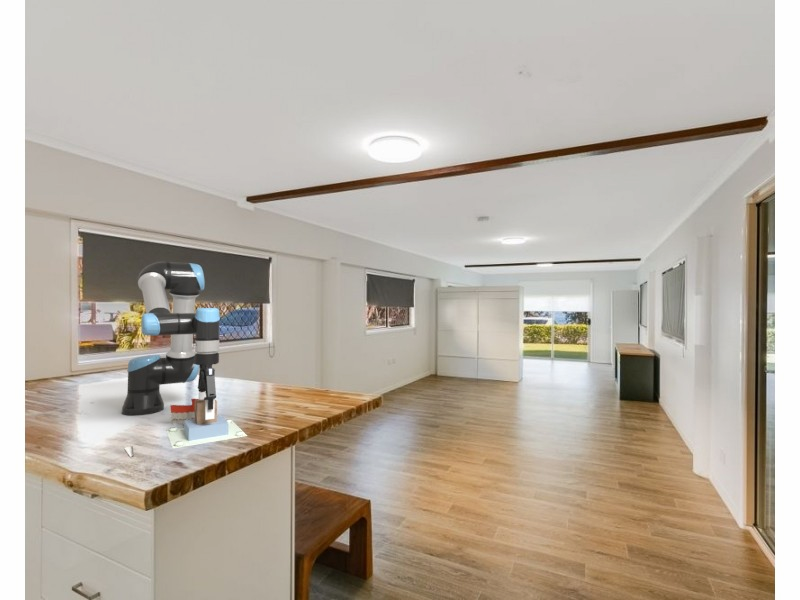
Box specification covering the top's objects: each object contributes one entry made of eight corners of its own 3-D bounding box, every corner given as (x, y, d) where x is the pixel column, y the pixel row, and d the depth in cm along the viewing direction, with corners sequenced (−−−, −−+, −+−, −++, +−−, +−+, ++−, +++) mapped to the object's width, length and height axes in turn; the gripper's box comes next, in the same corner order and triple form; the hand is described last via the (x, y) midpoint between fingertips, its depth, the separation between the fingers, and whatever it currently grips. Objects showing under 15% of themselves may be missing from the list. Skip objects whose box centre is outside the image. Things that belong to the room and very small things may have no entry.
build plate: (165, 433, 141) (166, 427, 142) (232, 424, 154) (232, 418, 154) (172, 452, 123) (172, 445, 123) (247, 439, 136) (247, 432, 136)
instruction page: (124, 448, 127) (124, 447, 127) (149, 443, 131) (149, 442, 131) (130, 457, 119) (130, 456, 119) (157, 451, 124) (157, 450, 124)
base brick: (183, 431, 140) (184, 420, 140) (221, 426, 147) (221, 415, 147) (188, 441, 130) (188, 428, 130) (228, 434, 137) (228, 422, 137)
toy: (193, 429, 147) (193, 407, 148) (168, 427, 149) (169, 405, 150) (215, 420, 160) (215, 399, 160) (192, 418, 162) (192, 398, 162)
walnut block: (194, 420, 140) (194, 400, 140) (213, 418, 143) (213, 398, 143) (197, 424, 135) (197, 403, 135) (216, 422, 138) (217, 401, 138)
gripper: (189, 350, 147) (188, 408, 147) (201, 356, 127) (200, 424, 126) (212, 349, 152) (211, 405, 151) (226, 355, 131) (225, 421, 131)
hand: (206, 414), depth 139 cm, fingers open, 13 cm apart
